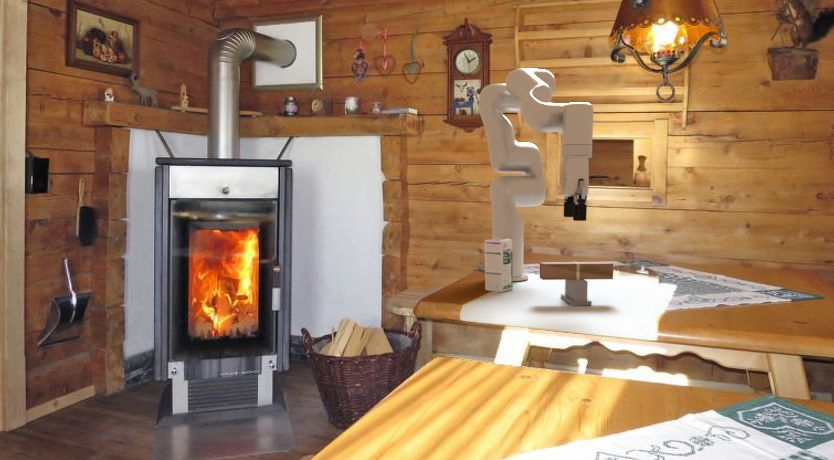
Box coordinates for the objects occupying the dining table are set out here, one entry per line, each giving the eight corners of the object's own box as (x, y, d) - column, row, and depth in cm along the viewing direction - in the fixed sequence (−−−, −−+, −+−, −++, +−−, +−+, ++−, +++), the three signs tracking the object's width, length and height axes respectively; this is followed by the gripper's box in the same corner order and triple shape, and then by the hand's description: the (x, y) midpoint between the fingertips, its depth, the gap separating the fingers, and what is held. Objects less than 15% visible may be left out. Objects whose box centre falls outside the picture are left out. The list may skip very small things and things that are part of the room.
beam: (539, 277, 183) (539, 261, 182) (608, 277, 183) (608, 261, 183) (542, 279, 179) (542, 263, 179) (612, 279, 180) (613, 263, 179)
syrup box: (502, 292, 195) (503, 240, 193) (484, 290, 198) (484, 238, 197) (512, 289, 199) (513, 238, 198) (494, 287, 203) (495, 237, 202)
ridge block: (560, 297, 187) (561, 275, 186) (579, 297, 187) (579, 275, 187) (571, 305, 176) (572, 282, 176) (591, 305, 176) (592, 281, 176)
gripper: (554, 151, 189) (552, 215, 191) (570, 151, 172) (568, 222, 174) (582, 151, 189) (580, 215, 191) (601, 152, 172) (598, 222, 174)
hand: (574, 218), depth 182 cm, fingers open, 9 cm apart
